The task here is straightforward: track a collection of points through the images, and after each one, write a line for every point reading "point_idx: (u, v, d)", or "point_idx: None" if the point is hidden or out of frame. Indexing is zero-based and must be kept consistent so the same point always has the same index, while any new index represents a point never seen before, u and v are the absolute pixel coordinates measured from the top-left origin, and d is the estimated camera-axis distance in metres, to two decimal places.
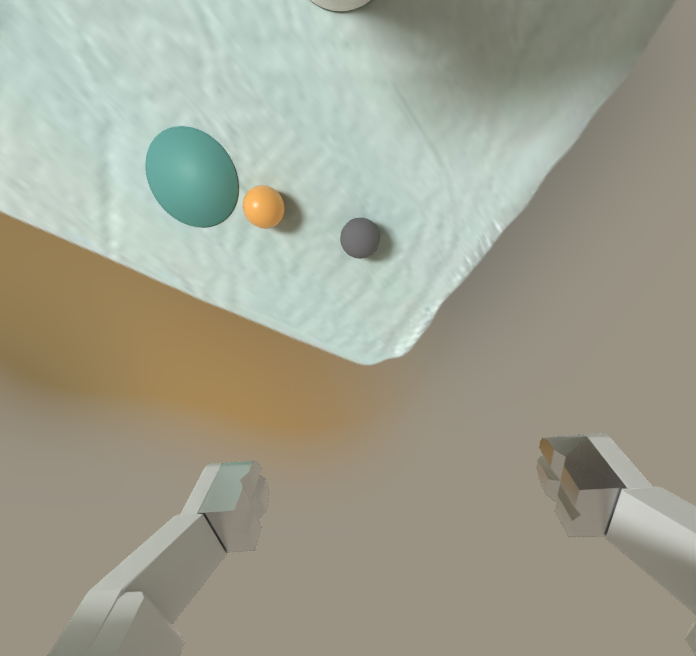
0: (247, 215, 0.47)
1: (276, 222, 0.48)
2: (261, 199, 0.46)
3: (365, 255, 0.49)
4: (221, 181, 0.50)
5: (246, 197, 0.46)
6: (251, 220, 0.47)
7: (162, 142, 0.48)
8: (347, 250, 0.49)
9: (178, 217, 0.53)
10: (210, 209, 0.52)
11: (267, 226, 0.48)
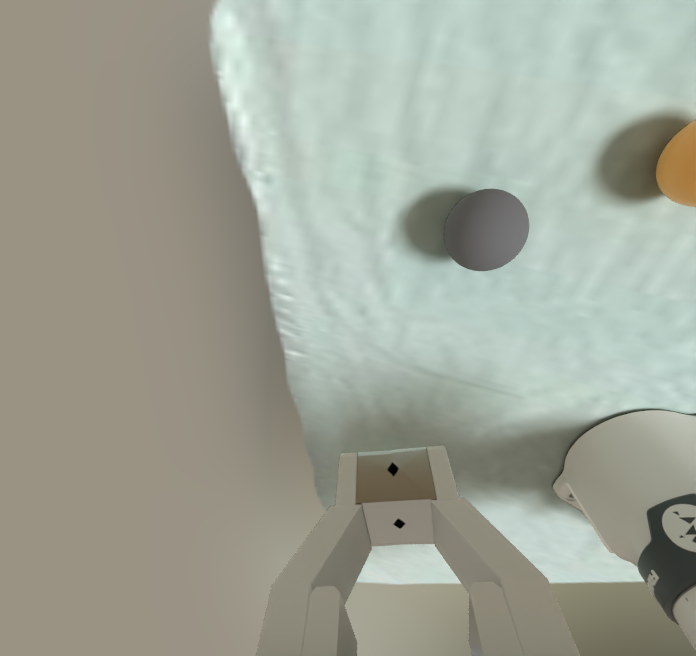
0: None
1: (691, 152, 0.21)
2: None
3: (466, 219, 0.23)
4: None
5: None
6: None
7: None
8: (508, 205, 0.22)
9: None
10: None
11: None
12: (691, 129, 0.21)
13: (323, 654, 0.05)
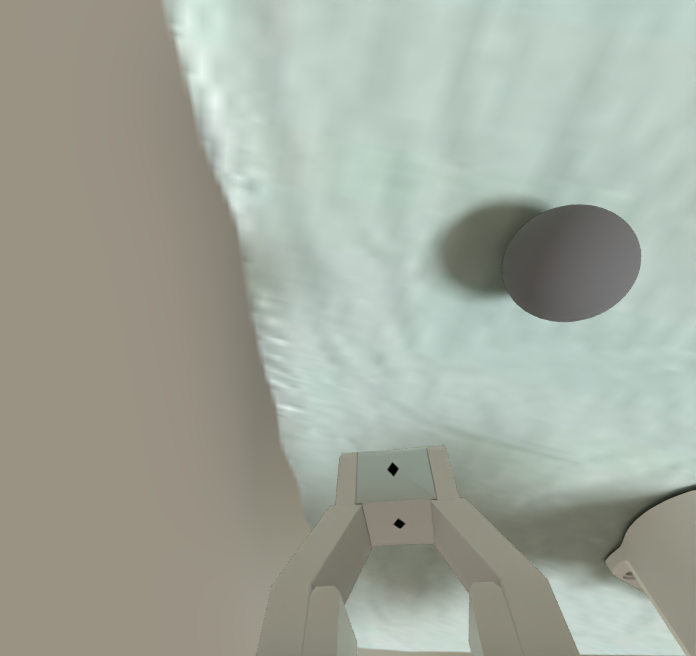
0: None
1: None
2: None
3: (550, 251, 0.15)
4: None
5: None
6: None
7: None
8: (618, 232, 0.14)
9: None
10: None
11: None
12: None
13: (323, 654, 0.05)
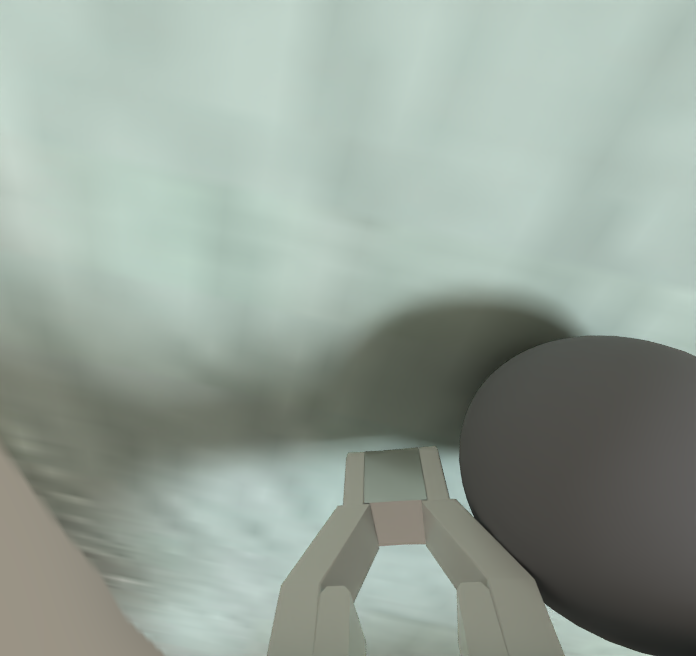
0: None
1: None
2: None
3: (594, 515, 0.05)
4: None
5: None
6: None
7: None
8: None
9: None
10: None
11: None
12: None
13: (335, 654, 0.05)
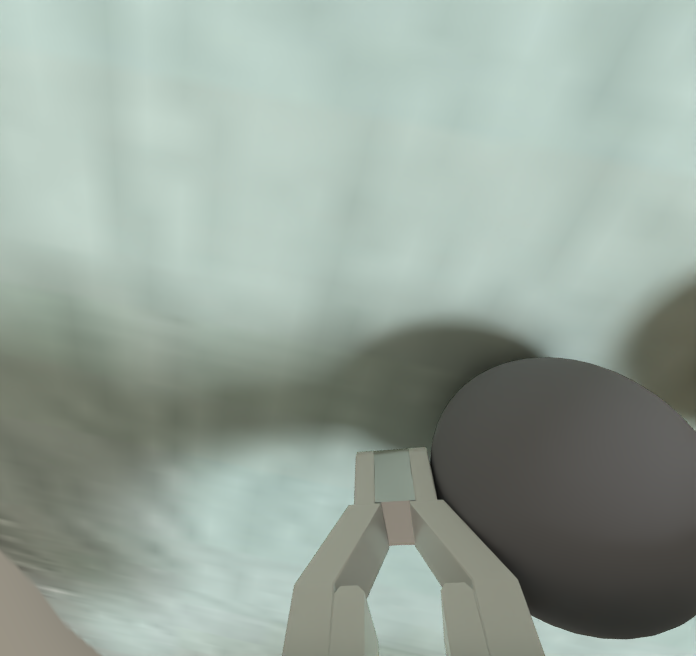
0: None
1: None
2: None
3: (596, 499, 0.06)
4: None
5: None
6: None
7: None
8: None
9: None
10: None
11: None
12: None
13: (351, 654, 0.05)
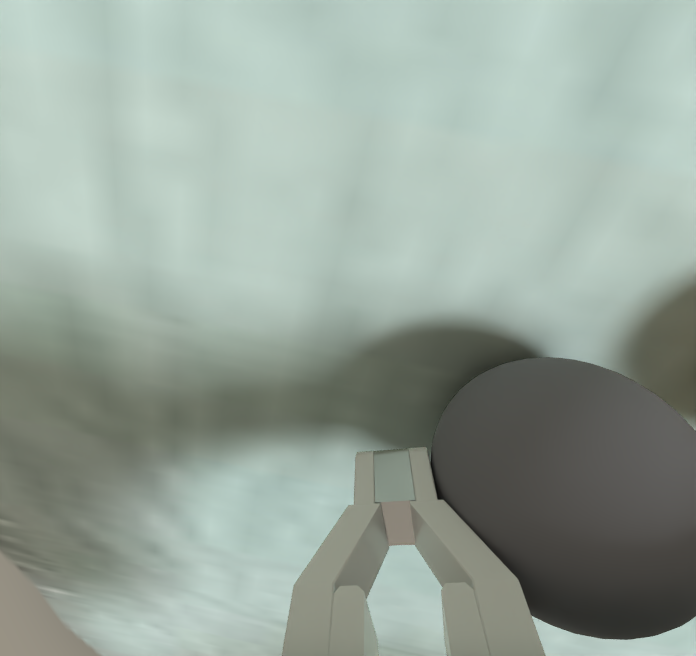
0: None
1: None
2: None
3: (596, 499, 0.06)
4: None
5: None
6: None
7: None
8: None
9: None
10: None
11: None
12: None
13: (350, 654, 0.05)
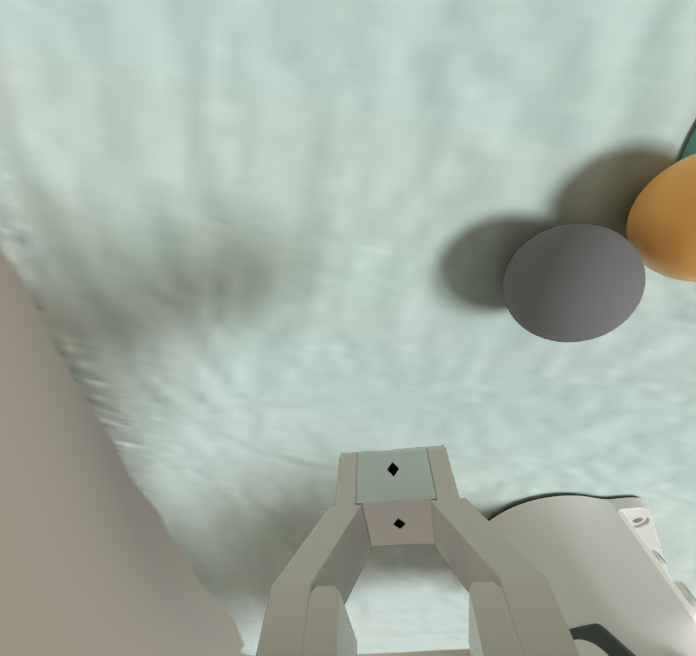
0: None
1: None
2: None
3: None
4: None
5: None
6: None
7: None
8: None
9: None
10: None
11: None
12: None
13: (323, 654, 0.05)
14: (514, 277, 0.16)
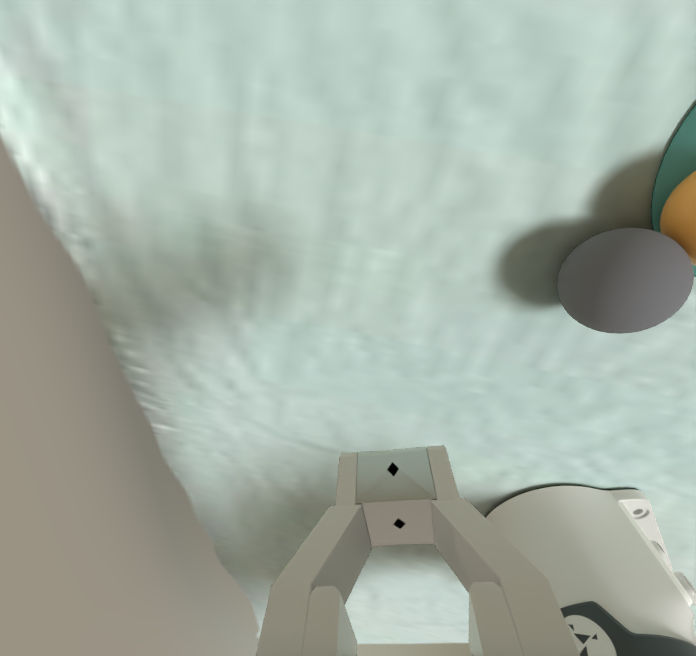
0: None
1: None
2: None
3: None
4: None
5: None
6: None
7: None
8: (588, 241, 0.19)
9: None
10: None
11: None
12: None
13: (323, 654, 0.05)
14: (640, 291, 0.16)
